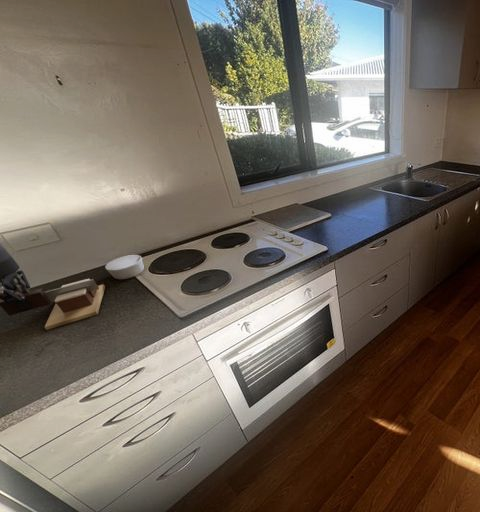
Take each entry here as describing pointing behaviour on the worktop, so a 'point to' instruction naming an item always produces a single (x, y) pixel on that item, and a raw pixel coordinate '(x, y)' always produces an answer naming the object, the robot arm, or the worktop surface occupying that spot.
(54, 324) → the board
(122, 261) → the ramekin
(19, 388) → the worktop surface
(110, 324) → the worktop surface
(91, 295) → the cake
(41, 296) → the knife
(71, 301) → the cake slice
